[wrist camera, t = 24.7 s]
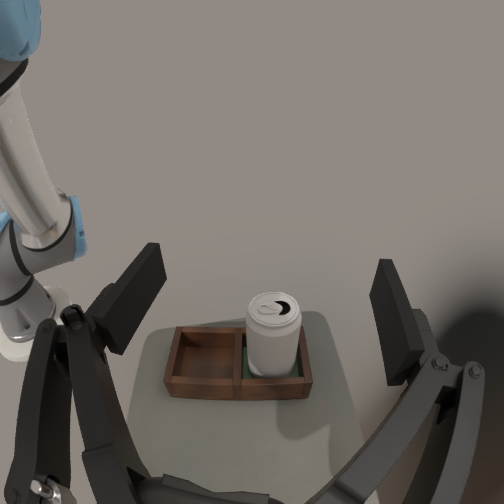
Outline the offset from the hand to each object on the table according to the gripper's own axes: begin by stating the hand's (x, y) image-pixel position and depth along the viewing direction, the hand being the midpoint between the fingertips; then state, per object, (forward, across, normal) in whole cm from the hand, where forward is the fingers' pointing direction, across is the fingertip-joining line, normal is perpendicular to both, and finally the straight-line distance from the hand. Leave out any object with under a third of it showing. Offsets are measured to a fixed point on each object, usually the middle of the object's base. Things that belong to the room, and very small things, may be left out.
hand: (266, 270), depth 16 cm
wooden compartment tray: (+9, -4, -25) cm, 27 cm away
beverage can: (+10, 0, -24) cm, 26 cm away
